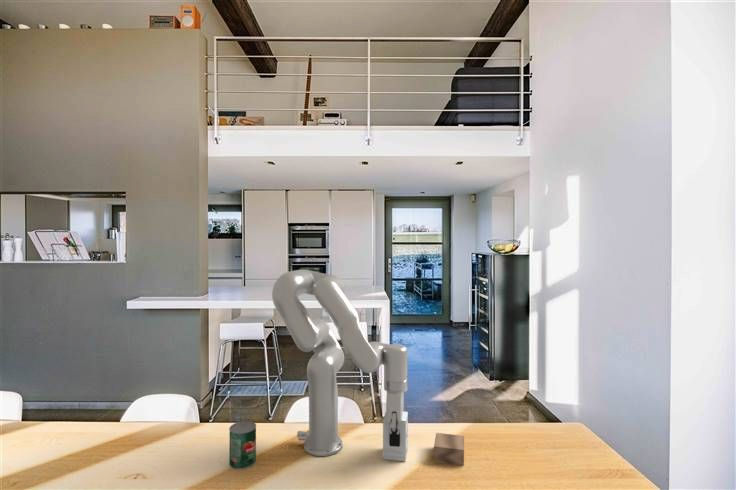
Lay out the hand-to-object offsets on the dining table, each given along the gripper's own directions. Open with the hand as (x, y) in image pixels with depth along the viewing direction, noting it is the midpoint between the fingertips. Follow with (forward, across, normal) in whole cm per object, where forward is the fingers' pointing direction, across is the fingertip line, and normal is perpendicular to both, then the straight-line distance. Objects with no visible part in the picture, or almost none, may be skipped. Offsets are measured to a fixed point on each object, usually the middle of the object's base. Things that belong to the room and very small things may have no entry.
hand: (395, 439), depth 126 cm
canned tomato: (+5, +12, -46) cm, 48 cm away
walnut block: (+5, -2, +17) cm, 18 cm away
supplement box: (+5, 0, 0) cm, 5 cm away
